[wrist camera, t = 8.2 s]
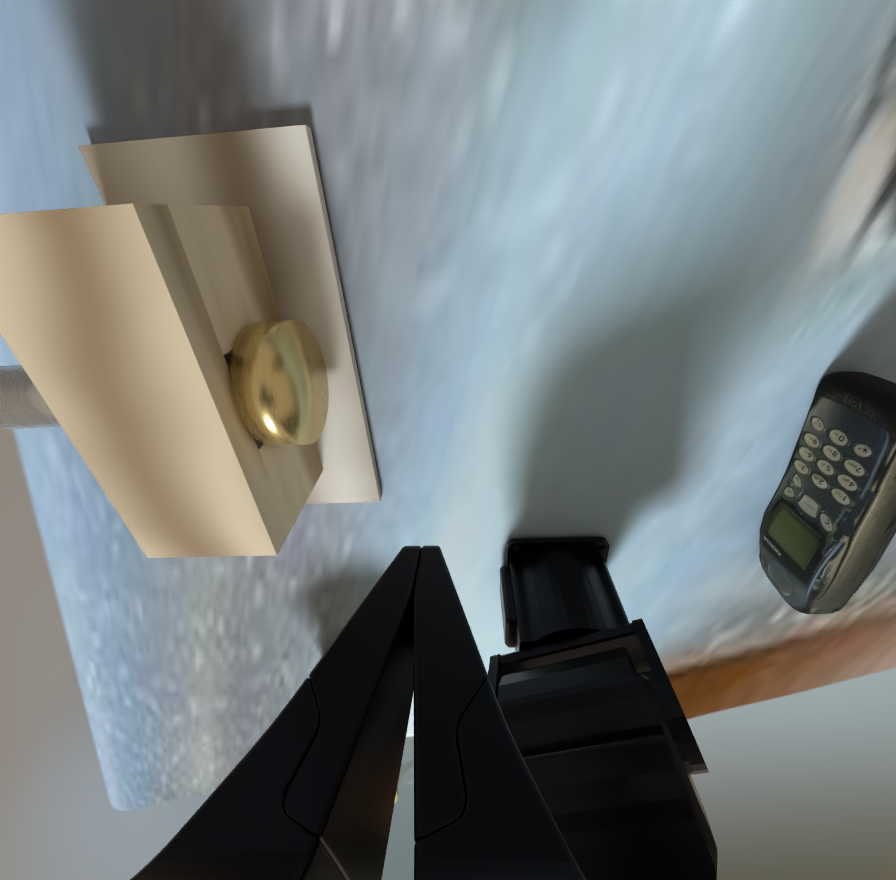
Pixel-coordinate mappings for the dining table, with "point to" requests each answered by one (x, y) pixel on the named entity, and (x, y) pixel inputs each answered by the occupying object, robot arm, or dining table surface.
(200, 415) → the block
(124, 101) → the dining table surface
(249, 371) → the door knob
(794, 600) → the mobile phone
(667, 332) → the dining table surface
